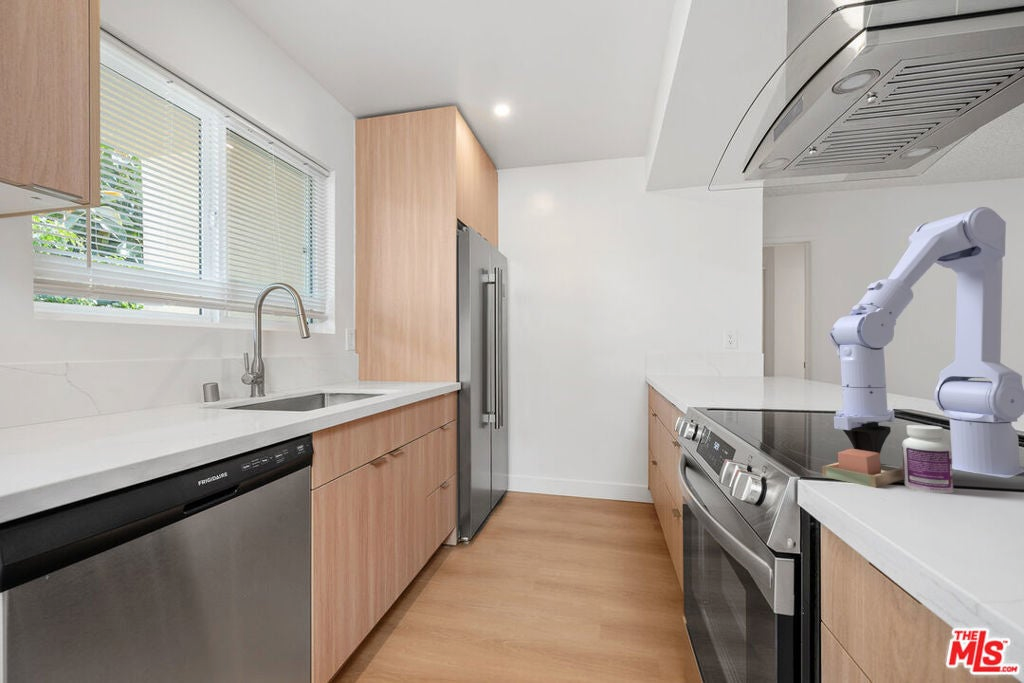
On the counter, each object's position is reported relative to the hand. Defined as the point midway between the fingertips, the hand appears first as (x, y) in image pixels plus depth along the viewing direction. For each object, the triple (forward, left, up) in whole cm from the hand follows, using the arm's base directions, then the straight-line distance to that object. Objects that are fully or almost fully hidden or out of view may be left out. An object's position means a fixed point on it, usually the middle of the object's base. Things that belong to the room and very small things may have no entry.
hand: (868, 469), depth 72 cm
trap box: (-2, 0, -2) cm, 2 cm away
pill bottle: (0, +7, -2) cm, 8 cm away
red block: (+3, 0, -1) cm, 3 cm away
